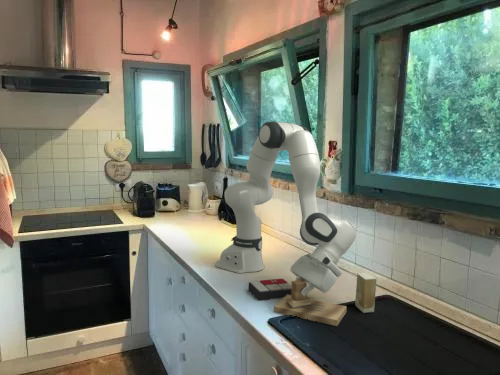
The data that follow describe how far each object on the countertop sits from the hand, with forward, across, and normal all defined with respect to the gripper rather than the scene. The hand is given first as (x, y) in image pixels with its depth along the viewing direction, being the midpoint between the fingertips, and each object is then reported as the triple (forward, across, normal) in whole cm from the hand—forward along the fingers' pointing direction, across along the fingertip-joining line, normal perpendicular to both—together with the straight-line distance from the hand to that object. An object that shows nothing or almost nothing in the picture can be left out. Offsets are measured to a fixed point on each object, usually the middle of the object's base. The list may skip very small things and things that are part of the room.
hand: (297, 291), depth 145 cm
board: (+2, +3, +7) cm, 8 cm away
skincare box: (-11, +9, +20) cm, 25 cm away
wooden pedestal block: (+3, 0, +4) cm, 5 cm away
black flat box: (+6, -17, +4) cm, 19 cm away
